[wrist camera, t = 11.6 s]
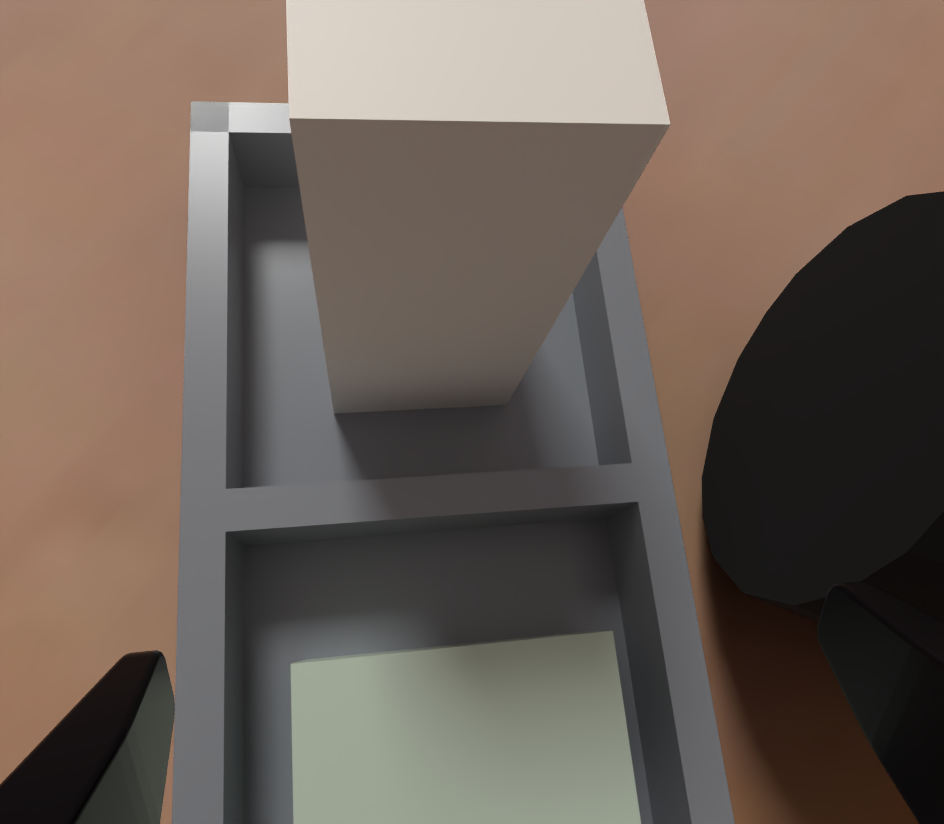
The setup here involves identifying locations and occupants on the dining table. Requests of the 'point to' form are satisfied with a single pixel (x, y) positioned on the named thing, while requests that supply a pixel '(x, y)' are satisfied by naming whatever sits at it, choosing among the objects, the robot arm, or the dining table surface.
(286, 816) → the tray
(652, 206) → the dining table surface
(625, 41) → the cream block
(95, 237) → the dining table surface
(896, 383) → the black and white bottle
